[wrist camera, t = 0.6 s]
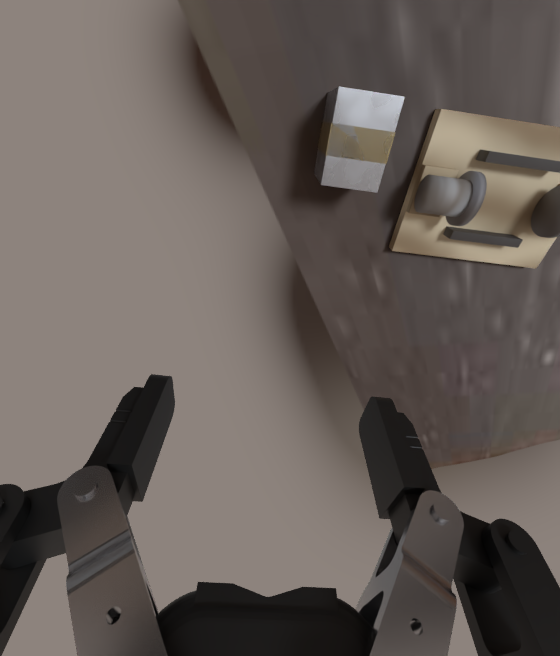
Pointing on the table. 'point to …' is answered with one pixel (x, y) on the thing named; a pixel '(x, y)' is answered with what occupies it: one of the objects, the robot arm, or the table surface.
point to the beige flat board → (483, 191)
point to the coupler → (356, 138)
